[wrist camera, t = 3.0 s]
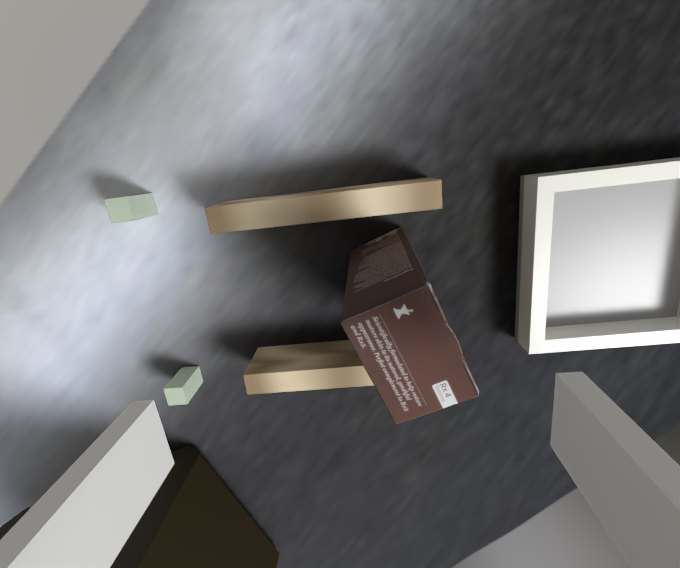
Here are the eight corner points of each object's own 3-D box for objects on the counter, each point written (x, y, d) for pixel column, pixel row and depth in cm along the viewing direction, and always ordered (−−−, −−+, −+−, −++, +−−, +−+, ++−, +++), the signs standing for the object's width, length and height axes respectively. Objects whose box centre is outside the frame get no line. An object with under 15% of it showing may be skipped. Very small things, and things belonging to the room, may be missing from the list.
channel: (261, 364, 30) (247, 394, 26) (227, 200, 26) (204, 207, 22) (435, 351, 29) (447, 379, 25) (428, 176, 24) (441, 179, 21)
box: (345, 252, 26) (335, 321, 15) (403, 224, 26) (438, 276, 14) (380, 321, 28) (395, 430, 17) (435, 297, 27) (490, 395, 16)
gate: (186, 382, 31) (168, 405, 28) (131, 195, 26) (103, 199, 23) (203, 381, 31) (187, 404, 28) (151, 192, 26) (126, 196, 23)
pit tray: (514, 337, 28) (529, 354, 26) (520, 175, 24) (538, 177, 22) (682, 324, 27) (713, 339, 25) (715, 152, 23) (755, 152, 21)
